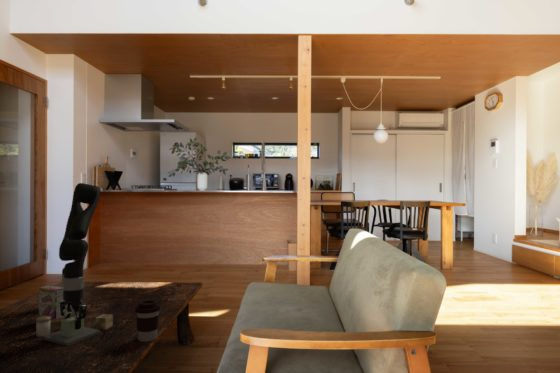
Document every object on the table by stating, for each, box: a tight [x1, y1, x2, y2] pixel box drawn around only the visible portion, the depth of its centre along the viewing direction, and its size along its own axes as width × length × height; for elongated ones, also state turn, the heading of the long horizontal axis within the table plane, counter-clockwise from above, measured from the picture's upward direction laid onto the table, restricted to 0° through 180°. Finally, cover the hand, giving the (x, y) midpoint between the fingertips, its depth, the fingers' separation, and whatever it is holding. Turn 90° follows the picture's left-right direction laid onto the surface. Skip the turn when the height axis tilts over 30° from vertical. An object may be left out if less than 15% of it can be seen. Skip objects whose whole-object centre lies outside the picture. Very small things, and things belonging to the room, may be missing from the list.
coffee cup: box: [134, 299, 162, 343], centre depth 152 cm, size 10×10×15 cm
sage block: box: [60, 316, 85, 337], centre depth 154 cm, size 4×7×6 cm, turn 155°
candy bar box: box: [38, 285, 65, 320], centre depth 169 cm, size 11×5×16 cm, turn 71°
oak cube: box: [94, 313, 114, 331], centre depth 164 cm, size 5×5×5 cm
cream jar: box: [35, 316, 51, 338], centre depth 156 cm, size 5×5×7 cm
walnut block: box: [50, 317, 65, 333], centre depth 162 cm, size 4×6×4 cm, turn 135°
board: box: [42, 326, 102, 347], centre depth 154 cm, size 15×15×1 cm
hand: (72, 327), depth 154 cm, fingers open, 6 cm apart
